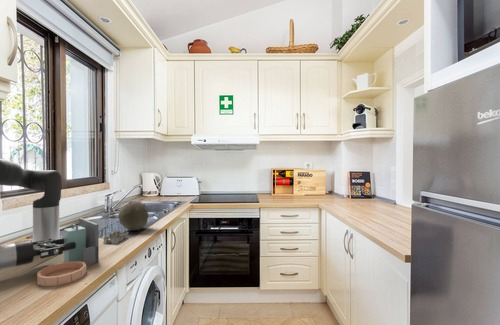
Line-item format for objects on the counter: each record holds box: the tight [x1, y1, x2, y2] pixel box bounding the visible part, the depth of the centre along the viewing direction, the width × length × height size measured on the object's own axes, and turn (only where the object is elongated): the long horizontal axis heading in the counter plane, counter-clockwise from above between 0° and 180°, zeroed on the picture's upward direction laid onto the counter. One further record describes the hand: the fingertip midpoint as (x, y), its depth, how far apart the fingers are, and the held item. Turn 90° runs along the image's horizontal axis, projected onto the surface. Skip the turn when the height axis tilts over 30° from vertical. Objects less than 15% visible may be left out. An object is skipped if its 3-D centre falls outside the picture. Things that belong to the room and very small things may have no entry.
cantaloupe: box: [117, 202, 149, 231], centre depth 138 cm, size 14×14×15 cm
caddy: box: [63, 223, 86, 262], centre depth 96 cm, size 6×5×14 cm
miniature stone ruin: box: [102, 230, 129, 245], centre depth 121 cm, size 11×8×4 cm
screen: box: [78, 217, 100, 267], centre depth 98 cm, size 5×17×14 cm, turn 51°
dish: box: [36, 261, 87, 287], centre depth 83 cm, size 13×13×2 cm
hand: (71, 242), depth 96 cm, fingers open, 8 cm apart
